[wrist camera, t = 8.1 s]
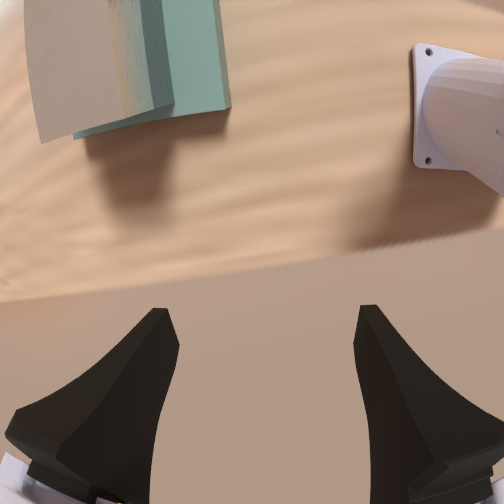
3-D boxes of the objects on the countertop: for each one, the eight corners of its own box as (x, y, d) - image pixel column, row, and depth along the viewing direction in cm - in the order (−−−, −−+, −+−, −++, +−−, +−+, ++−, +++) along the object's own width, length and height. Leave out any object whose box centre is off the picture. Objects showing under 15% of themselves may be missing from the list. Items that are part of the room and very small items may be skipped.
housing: (175, 102, 15) (123, 119, 10) (105, 118, 16) (41, 144, 11) (159, -24, 11) (106, -57, 6) (90, 1, 12) (24, -11, 6)
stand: (214, -41, 12) (206, -52, 10) (231, 106, 17) (225, 109, 15) (73, 6, 13) (56, 3, 11) (90, 133, 18) (74, 140, 16)
